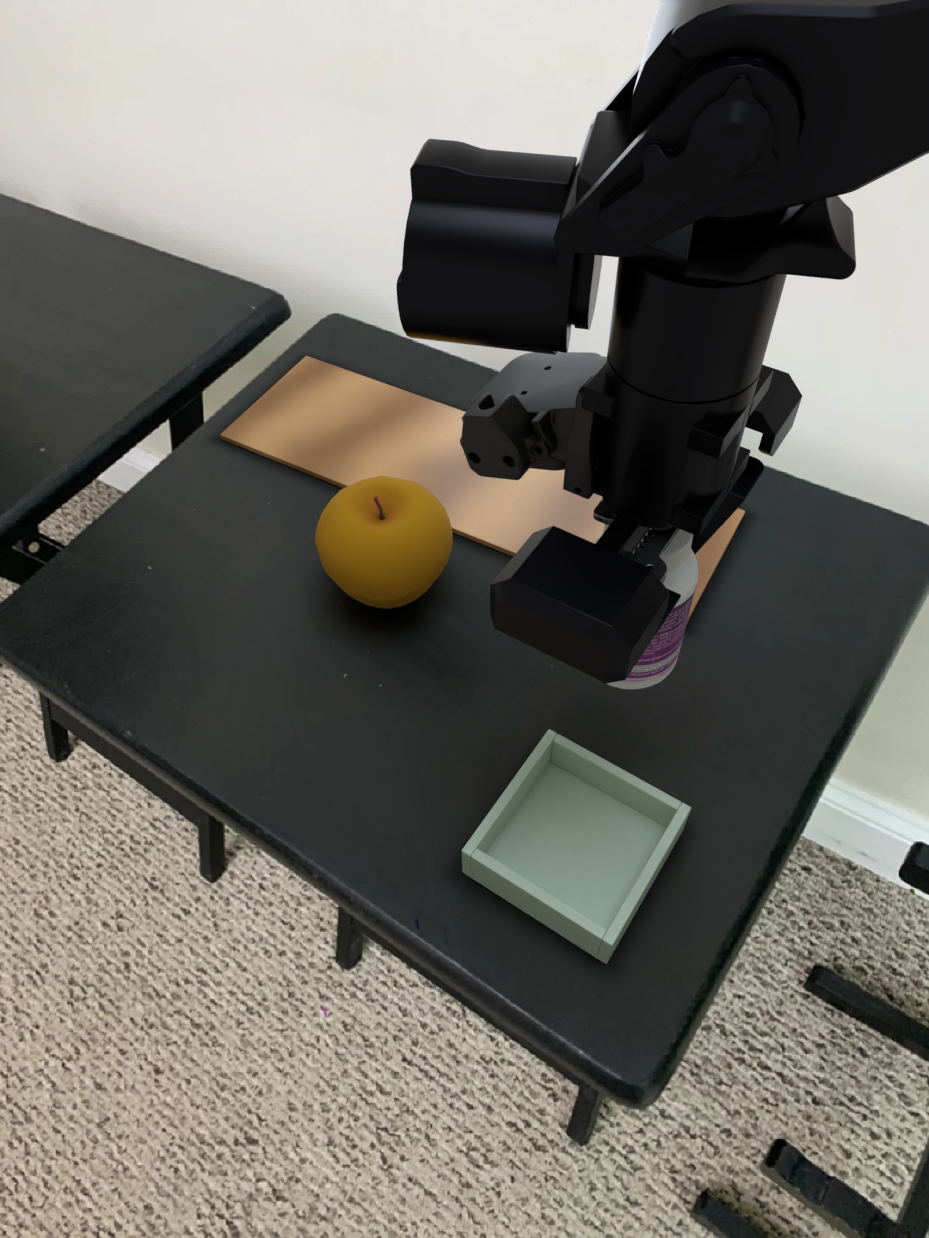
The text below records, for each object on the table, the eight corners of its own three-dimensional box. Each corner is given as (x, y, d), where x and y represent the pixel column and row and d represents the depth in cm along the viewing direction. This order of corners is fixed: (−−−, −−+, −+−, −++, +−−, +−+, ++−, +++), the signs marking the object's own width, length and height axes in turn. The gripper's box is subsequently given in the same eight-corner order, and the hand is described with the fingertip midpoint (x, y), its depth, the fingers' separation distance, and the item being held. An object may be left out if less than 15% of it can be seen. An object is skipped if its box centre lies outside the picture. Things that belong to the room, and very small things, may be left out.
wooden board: (744, 515, 69) (745, 510, 69) (685, 626, 63) (686, 622, 62) (306, 360, 82) (306, 355, 81) (220, 439, 75) (219, 434, 75)
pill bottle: (693, 637, 50) (729, 509, 42) (651, 709, 47) (682, 586, 39) (602, 598, 52) (622, 468, 44) (557, 665, 49) (570, 539, 41)
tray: (683, 830, 53) (692, 807, 51) (606, 964, 49) (612, 945, 46) (546, 753, 57) (548, 728, 54) (462, 872, 52) (460, 850, 50)
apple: (433, 530, 68) (428, 436, 61) (472, 619, 63) (471, 527, 56) (314, 559, 67) (295, 466, 60) (344, 654, 62) (326, 564, 54)
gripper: (608, 195, 42) (582, 454, 55) (362, 420, 33) (397, 673, 45) (848, 263, 38) (762, 526, 51) (647, 541, 29) (601, 782, 41)
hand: (633, 615), depth 47 cm, fingers closed on pill bottle, 5 cm apart
